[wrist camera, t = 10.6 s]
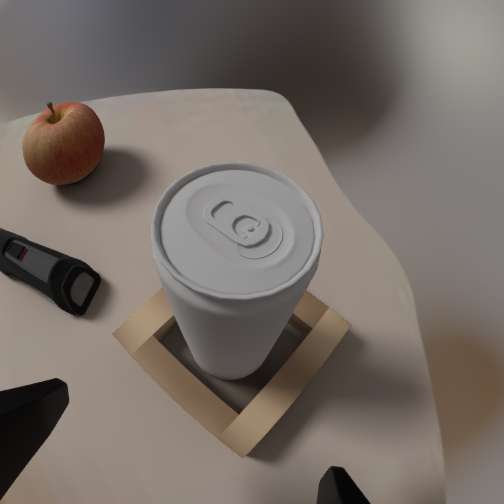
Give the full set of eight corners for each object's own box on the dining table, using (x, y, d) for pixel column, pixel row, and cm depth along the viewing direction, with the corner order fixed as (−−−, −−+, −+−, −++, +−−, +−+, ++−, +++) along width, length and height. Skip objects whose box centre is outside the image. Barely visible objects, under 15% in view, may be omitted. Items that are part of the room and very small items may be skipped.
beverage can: (233, 397, 16) (252, 349, 6) (173, 345, 18) (110, 224, 7) (283, 338, 18) (357, 216, 8) (224, 292, 20) (230, 139, 10)
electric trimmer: (-5, 225, 22) (-20, 204, 19) (106, 277, 20) (90, 254, 17) (-25, 255, 20) (-42, 237, 17) (82, 322, 18) (62, 304, 15)
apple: (37, 166, 25) (11, 107, 19) (101, 135, 28) (86, 72, 21) (43, 215, 22) (6, 148, 15) (120, 177, 25) (100, 103, 18)
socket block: (240, 454, 15) (242, 458, 13) (122, 342, 18) (112, 333, 16) (340, 334, 19) (351, 324, 17) (227, 246, 22) (228, 230, 20)
